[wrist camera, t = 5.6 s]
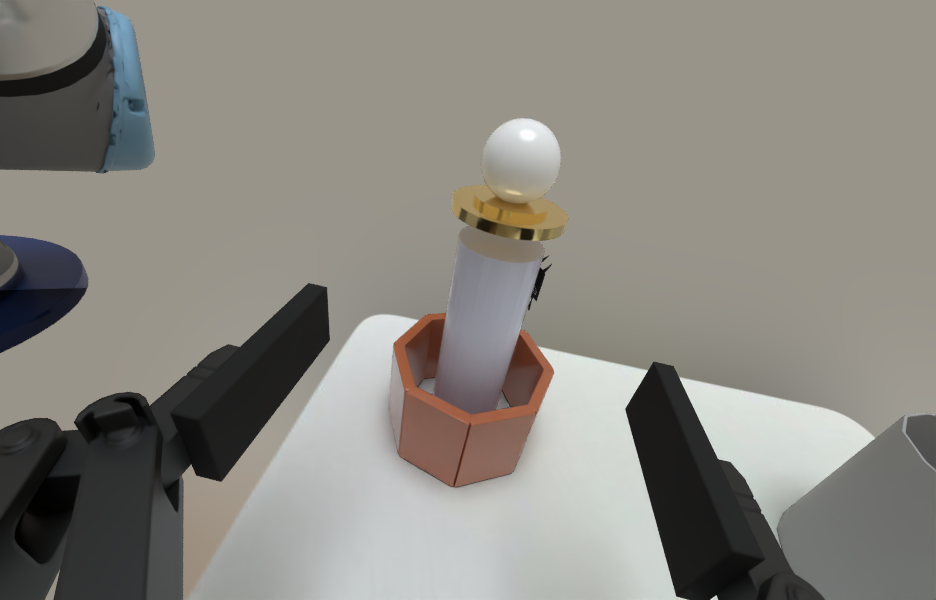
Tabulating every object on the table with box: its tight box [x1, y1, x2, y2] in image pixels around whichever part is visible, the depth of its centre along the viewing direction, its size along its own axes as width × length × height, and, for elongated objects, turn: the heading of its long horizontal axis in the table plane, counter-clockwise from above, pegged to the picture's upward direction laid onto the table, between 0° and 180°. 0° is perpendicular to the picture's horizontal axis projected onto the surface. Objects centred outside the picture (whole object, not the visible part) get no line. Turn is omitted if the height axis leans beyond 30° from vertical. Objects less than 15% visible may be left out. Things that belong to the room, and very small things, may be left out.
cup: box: [777, 413, 936, 600], centre depth 19 cm, size 8×8×10 cm
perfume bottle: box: [433, 118, 568, 414], centre depth 21 cm, size 6×6×20 cm
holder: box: [389, 313, 554, 487], centre depth 25 cm, size 10×10×6 cm
